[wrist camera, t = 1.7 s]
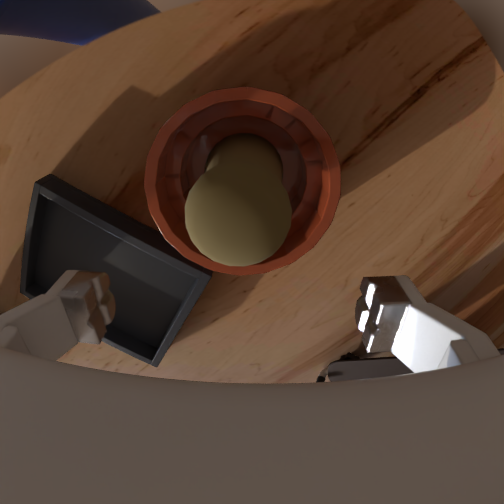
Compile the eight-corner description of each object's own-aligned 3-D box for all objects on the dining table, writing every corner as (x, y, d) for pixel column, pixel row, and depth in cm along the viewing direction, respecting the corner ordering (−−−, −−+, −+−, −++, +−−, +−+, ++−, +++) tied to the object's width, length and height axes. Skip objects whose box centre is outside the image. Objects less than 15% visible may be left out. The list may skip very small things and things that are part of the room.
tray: (31, 279, 29) (19, 292, 26) (50, 173, 23) (34, 181, 21) (162, 351, 33) (157, 367, 31) (215, 260, 27) (211, 276, 25)
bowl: (141, 200, 25) (118, 223, 20) (213, 62, 20) (202, 52, 15) (270, 267, 28) (273, 301, 23) (354, 146, 22) (377, 159, 18)
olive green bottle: (298, 157, 23) (331, 204, 13) (259, 221, 25) (261, 304, 16) (227, 118, 21) (205, 134, 12) (191, 186, 24) (149, 252, 14)
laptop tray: (327, 310, 37) (304, 371, 31) (512, 295, 24) (525, 364, 18) (359, 401, 47) (344, 448, 40) (487, 399, 34) (483, 450, 27)
